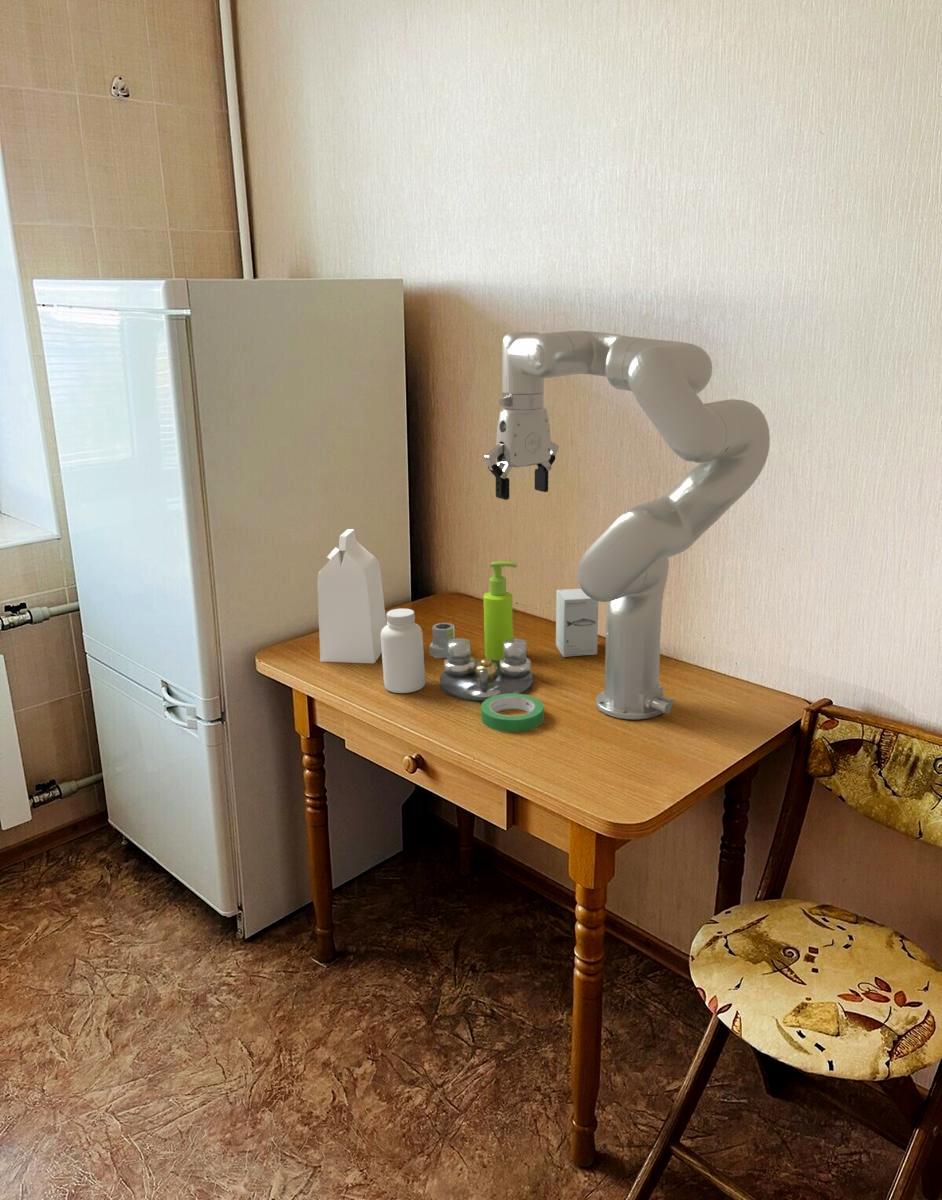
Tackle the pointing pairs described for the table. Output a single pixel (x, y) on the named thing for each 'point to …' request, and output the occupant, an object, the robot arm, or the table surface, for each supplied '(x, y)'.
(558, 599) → the supplement box
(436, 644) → the octagonal collar pipe
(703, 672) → the table surface
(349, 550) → the milk
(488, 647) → the soap dispenser
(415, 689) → the pill bottle
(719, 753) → the table surface
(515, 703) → the tape roll
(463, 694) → the carrier
